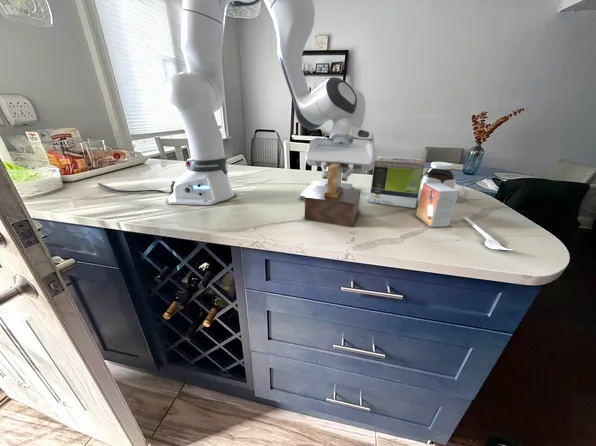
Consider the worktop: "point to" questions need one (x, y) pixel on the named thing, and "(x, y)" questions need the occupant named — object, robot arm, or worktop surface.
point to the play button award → (321, 183)
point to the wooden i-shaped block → (334, 181)
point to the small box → (436, 204)
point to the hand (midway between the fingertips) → (334, 178)
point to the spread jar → (440, 174)
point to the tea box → (396, 181)
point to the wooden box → (332, 206)
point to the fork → (487, 237)
